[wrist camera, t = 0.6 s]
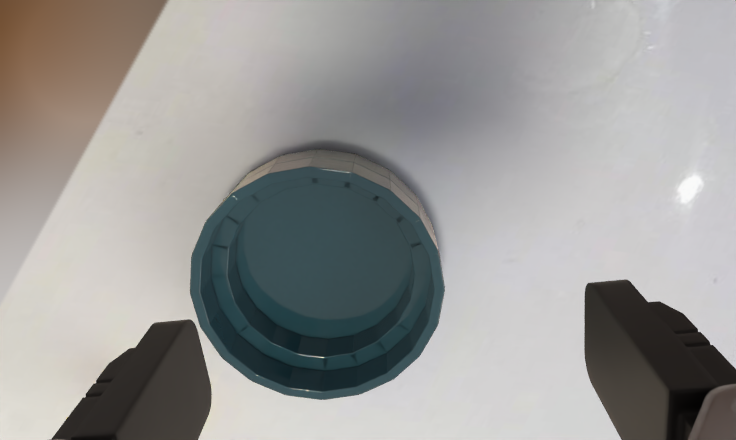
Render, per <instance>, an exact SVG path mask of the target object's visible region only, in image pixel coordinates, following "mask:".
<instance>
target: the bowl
mask: <svg viewBox="0 0 736 440" xmlns="http://www.w3.org/2000/svg"><path fill="white" fill-rule="evenodd" d="M444 292H445V286H444V280H443V274H442V267H441V261H440V255H439V250H438V246H437V242H436V237H435V233H434V229H433V226H432V223H431V222H430V220H429V218H428V216H427V214H426V212H425V210H424V209H423V207H422V205H421V203H420V201H419V199H418V197H417V196H416V194H415V193H414V192H413V191H412V190H410V189H409V188H408V187H407V186H406V185H405V184H404V183H403V182H402V181H401V180H400V179H399V178H398V177H397V176H396V175H395V174H393V173H392V172H391V171H390V170H389V169H387V168H384V167H382V166H380V165H378V164H376V163H374V162H372V161H370V160H368V159H365V158H363V157H361V156H359V155H357V154H356V155H355V154H354V153H346V152H339V151H331V150H324V149H314V150H308V151H302V152H297V153H291V154H286V155H282V156H279V157H277V158H275V159H273V160H271V161H270V162H268V163H266V164H264V165H262V166H260V167H259V168H257V169H255V170H253V171H251V172H250V173H248V174H247V176H246V177H245V178H244V179H243V180H242V181H241V182H240V183H239V184H238V185H237V186H236V188H235V189H234V190H233V191H232V192H231V193H230V194H229V195H228V196H227V197H226V199H225V200H224V201H223V202H222V203H221V204H220V205H219V207H218V208H217V209H216V210H215V211H214V212H213V214H212V215H211V216H210V217H209V218H208V219H207V220H206V222H205V224H204V227H203V229H202V231H201V234H200V236H199V239H198V241H197V244H196V246H195V248H194V251H193V253H192V257H191V279H190V295H191V298H192V301H193V304H194V308H195V311H196V314H197V317H198V321H199V324H200V327H201V329H202V330H203V332H204V333H205V335H206V336H207V337H208V339H209V340H210V342H211V343H212V344H213V346H214V347H215V349H216V350H217V352H218V353H219V354H220V356H221V357H222V358H223V359H224V360H225V361H227V362H228V363H229V364H230V365H232V366H233V367H234V368H235V369H237V370H238V371H239V372H240V373H242V374H243V375H244V376H246V377H247V378H248V379H249V380H251V381H253V382H255V383H257V384H260V385H262V386H265V387H267V388H269V389H272V390H274V391H277V392H279V393H282V394H284V395H288V396H296V397H304V398H311V399H319V400H326V399H333V398H340V397H347V396H354V395H359V394H362V393H364V392H367V391H369V390H371V389H373V388H376V387H378V386H380V385H382V384H384V383H387V382H389V381H391V380H392V379H394V378H396V377H397V376H398V375H399V374H400V373H401V372H402V371H404V370H405V369H406V368H407V367H408V366H409V365H410V364H411V363H413V362H414V361H415V360H416V359H417V358H418V357H419V356H420V355H421V353H422V352H423V350H424V348H425V346H426V345H427V343H428V341H429V340H430V338H431V336H432V334H433V333H434V331H435V329H436V328H437V326H438V323H439V318H440V312H441V307H442V302H443V297H444Z"/></svg>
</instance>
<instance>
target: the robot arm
mask: <svg viewBox="0 0 736 440" xmlns="http://www.w3.org/2000/svg"><path fill="white" fill-rule="evenodd" d="M585 361H586V367H587V371H588V375H589V378H590V381H591V383H592V385H593V387H594V389H595V391H596V393H597V395H598V396H599V398H600V400H601V402H602V404H603V406H604V408H605V410H606V411H607V413H608V415H609V417H610V419H611V421H612V423H613V424H614V426H615V428H616V430H617V432H618V434H619V436H620V437H621V439H622V440H736V369H735V368H734V367H733V366H732V365H731V364H730V363H729V362H728V361H727V360H726V359H725V357H724V356H723V355H722V354H721V353H720V352H719V351H718V350H717V349H716V348H715V347H714V346H713V345H710V342H709V341H708V340H707V338H706V337H705V336H704V335H703V334H702V333H701V332H698V329H697V328H696V327H695V326H694V325H693V324H692V323H691V322H690V321H689V319H688V318H687V317H686V316H685V315H684V314H683V313H681V312H679V311H677V310H675V309H673V308H671V307H669V306H667V305H665V304H663V303H661V302H660V301H659V302H647V301H646V300H645V298H644V297H643V296H642V295H641V294H640V293H639V292H638V290H637V289H636V288H635V287H634V286H633V285H632V283H631V282H630V281H628V280H616V281H605V282H595V283H588V284H587V286H586V289H585ZM210 407H211V384H210V380H209V376H208V371H207V367H206V363H205V359H204V355H203V351H202V347H201V343H200V339H199V335H198V331H197V328H196V325H195V324H194V322H193V321H192V320H179V321H168V322H158V323H154V324H152V326H151V327H150V328H149V330H148V331H147V332H146V334H145V335H144V337H143V338H142V339H141V341H140V342H139V343H138V345H137V346H136V348H130V349H128V350H127V351H126V352H124V353H123V354H122V355H120V356H119V357H118V358H116V359H115V360H113V361H112V362H111V363H109V364H108V366H107V367H106V368H105V370H104V371H103V372H102V374H101V375H100V376H99V377H98V379H97V380H96V384H93V385H92V387H91V388H90V389H89V391H88V392H87V393H86V398H82V400H81V401H80V402H79V404H78V405H77V406H76V408H75V409H74V410H73V412H72V413H71V414H70V416H69V417H68V418H67V419H66V421H65V422H64V423H63V425H62V426H61V427H60V429H59V430H58V431H57V433H56V434H55V435H54V437H53V438H52V439H51V440H198V438H199V436H200V433H201V431H202V429H203V426H204V424H205V422H206V419H207V417H208V415H209V411H210Z"/></svg>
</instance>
